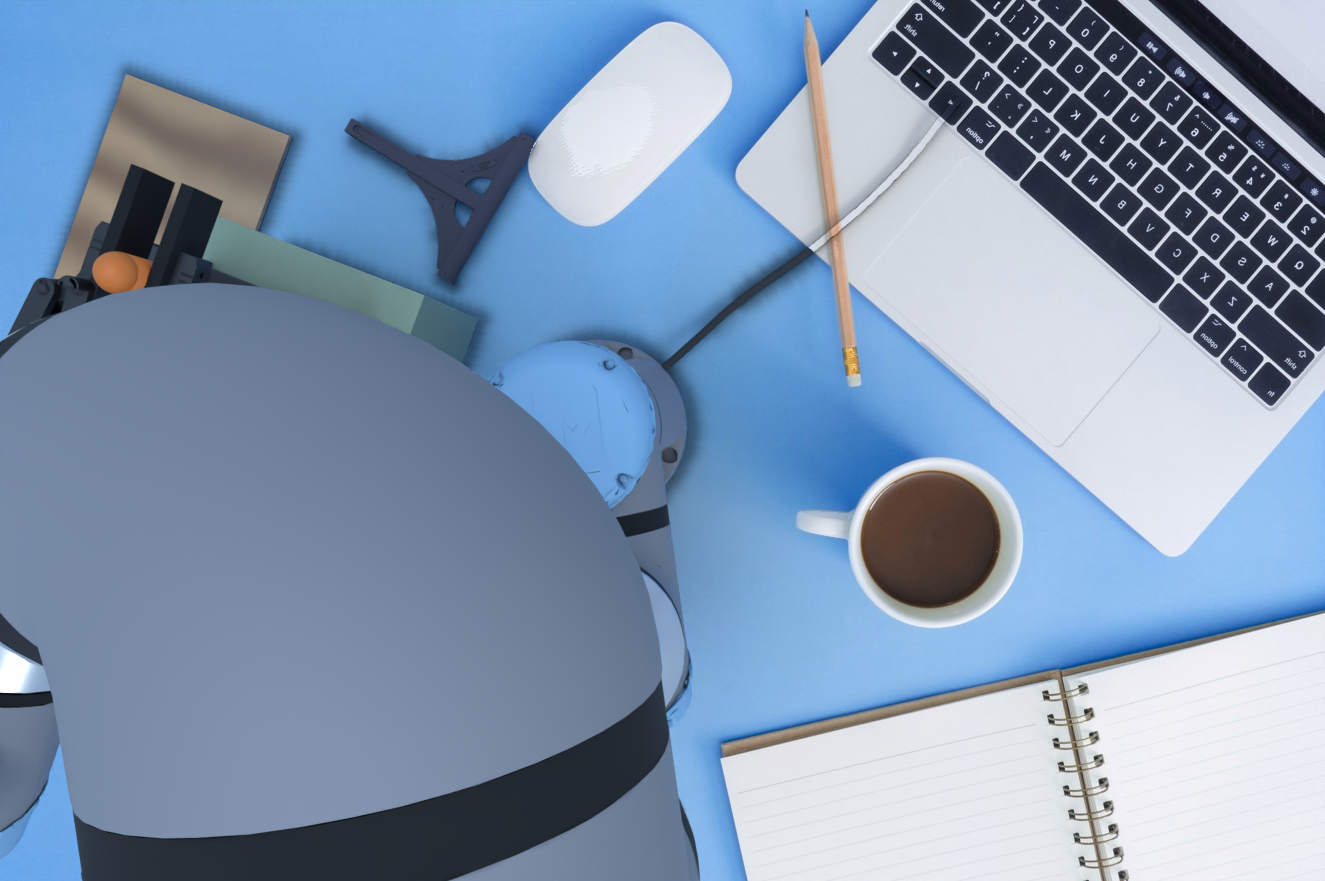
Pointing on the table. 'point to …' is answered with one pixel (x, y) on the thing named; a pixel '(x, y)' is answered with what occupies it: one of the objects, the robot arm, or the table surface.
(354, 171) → the table surface
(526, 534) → the robot arm
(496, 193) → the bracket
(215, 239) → the stand
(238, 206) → the cork mat
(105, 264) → the block with orange grip
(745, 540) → the table surface
